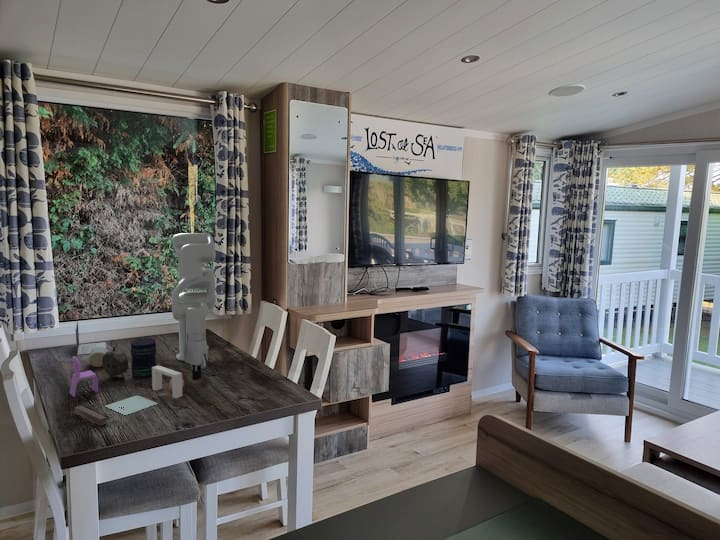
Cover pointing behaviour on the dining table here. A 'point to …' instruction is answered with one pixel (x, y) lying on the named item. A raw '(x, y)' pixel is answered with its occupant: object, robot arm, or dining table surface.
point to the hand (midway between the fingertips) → (196, 379)
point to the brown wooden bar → (90, 415)
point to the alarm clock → (115, 362)
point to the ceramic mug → (97, 356)
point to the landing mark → (131, 405)
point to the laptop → (86, 345)
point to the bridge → (175, 375)
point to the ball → (171, 383)
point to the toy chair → (81, 377)
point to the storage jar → (143, 358)
